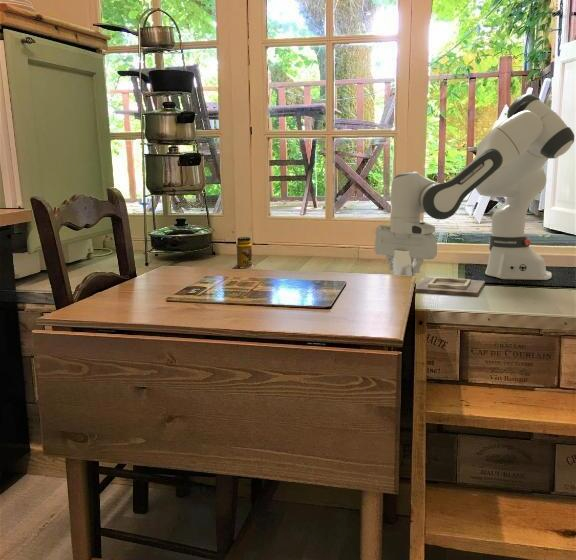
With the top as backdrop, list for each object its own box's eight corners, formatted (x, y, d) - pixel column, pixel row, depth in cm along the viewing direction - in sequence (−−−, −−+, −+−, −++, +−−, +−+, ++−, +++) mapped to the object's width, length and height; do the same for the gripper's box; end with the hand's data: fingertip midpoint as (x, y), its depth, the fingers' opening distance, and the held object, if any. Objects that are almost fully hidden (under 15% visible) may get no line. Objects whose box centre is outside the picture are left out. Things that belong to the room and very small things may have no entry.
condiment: (252, 268, 248) (251, 238, 246) (230, 268, 249) (229, 238, 247) (254, 265, 256) (253, 236, 253) (233, 265, 256) (232, 236, 254)
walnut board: (484, 284, 209) (485, 277, 209) (477, 296, 191) (477, 289, 191) (425, 280, 217) (425, 274, 217) (412, 292, 199) (412, 285, 199)
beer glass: (400, 300, 188) (401, 251, 185) (388, 296, 194) (388, 248, 191) (419, 298, 191) (420, 249, 188) (406, 293, 197) (407, 246, 194)
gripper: (370, 225, 193) (370, 269, 195) (429, 229, 179) (428, 276, 182) (381, 223, 197) (381, 266, 200) (440, 227, 184) (438, 273, 187)
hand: (404, 271), depth 191 cm, fingers closed on beer glass, 7 cm apart
